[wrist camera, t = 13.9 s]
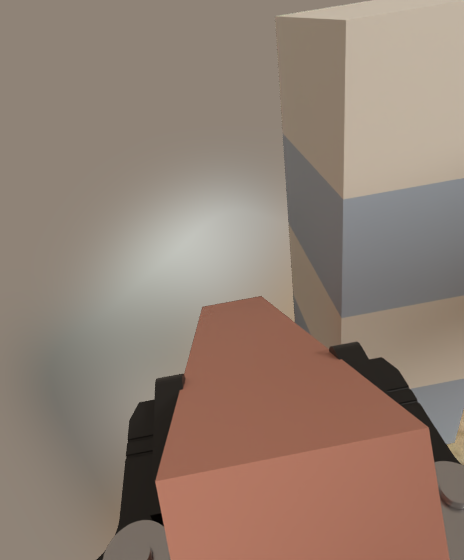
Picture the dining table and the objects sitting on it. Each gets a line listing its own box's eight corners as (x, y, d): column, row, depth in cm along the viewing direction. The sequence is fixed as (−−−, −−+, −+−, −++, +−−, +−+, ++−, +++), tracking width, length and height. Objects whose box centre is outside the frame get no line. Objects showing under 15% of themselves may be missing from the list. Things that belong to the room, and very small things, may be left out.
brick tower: (297, 351, 47) (275, 16, 29) (383, 335, 47) (414, -7, 29) (339, 465, 35) (346, 19, 17) (454, 442, 35) (577, -19, 18)
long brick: (213, 364, 28) (202, 306, 28) (271, 353, 28) (261, 296, 28) (206, 742, 6) (155, 481, 6) (469, 683, 6) (428, 427, 6)
